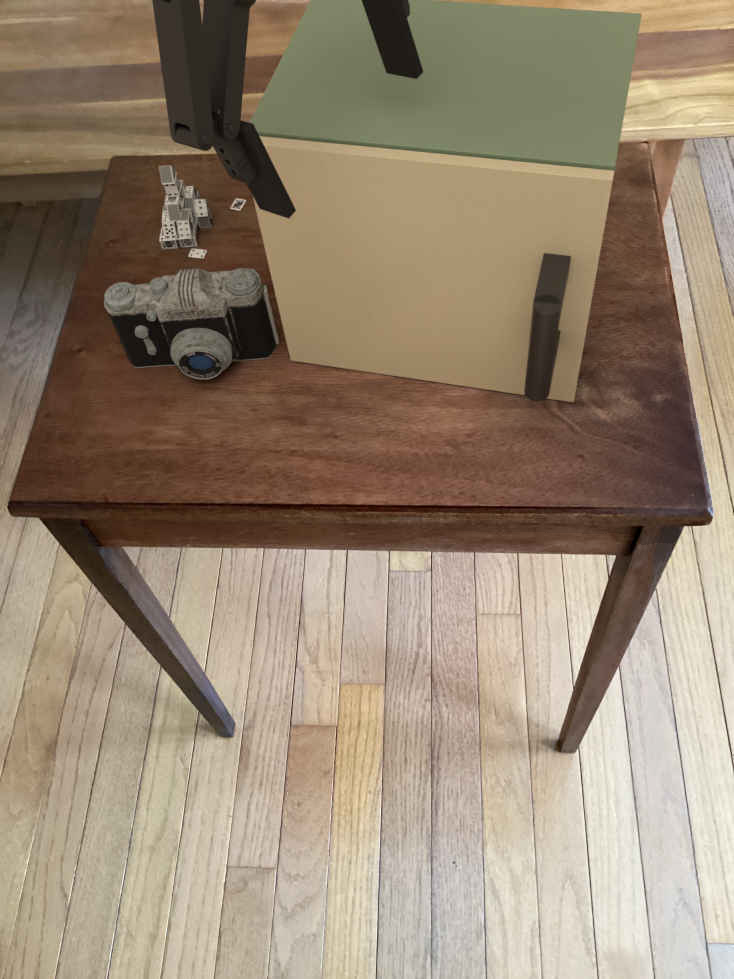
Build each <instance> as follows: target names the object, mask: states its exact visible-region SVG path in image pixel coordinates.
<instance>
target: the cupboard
mask: <svg viewBox="0 0 734 979" xmlns="http://www.w3.org/2000/svg"><path fill="white" fill-rule="evenodd" d="M408 1H409V5H410V15H409V16H408V17H407V19H408V23H409V26H410V29H411V33H412V36H413V39H414V42H415V46H416V49H417V52H418V56H419V59H420V62H421V65H422V69H423V73H422V74H421V75H420V76H419V77H418V78H417V79H413V78H408V77H403V76H398V75H393V74H387V73H386V70H385V67H384V65H383V62H382V59H381V56H380V53H379V50H378V47H377V44H376V41H375V38H374V35H373V32H372V29H371V26H370V24H369V21H368V18H367V15H366V12H365V9H364V6H363V3H362V0H309V2H308V4H307V6H306V8H305V10H304V12H303V14H302V16H301V18H300V20H299V22H298V24H297V26H296V28H295V30H294V31H293V32H294V33H293V34H292V36H291V38H290V40H289V42H288V44H287V46H286V48H285V50H284V52H283V54H282V55H281V56H282V57H281V58H280V60H279V62H278V64H277V66H276V68H275V70H274V72H273V75H272V76H271V78H270V81H269V82H268V85H267V86H266V88H265V90H264V93H263V94H262V96H261V98H260V101H258V102H259V103H258V104H257V107H256V108H255V111H254V112H253V114H252V116H251V118H250V120H249V123H253V124H254V126H255V128H256V130H257V132H258V134H259V136H264V137H274V138H284V139H294V140H305V141H315V142H325V143H335V144H346V145H356V146H366V147H376V148H387V149H397V150H407V151H417V152H428V153H438V154H448V155H458V156H469V157H479V158H489V159H499V160H510V161H520V162H530V163H540V164H551V165H561V166H571V167H581V168H592V169H602V170H612V171H614V172H615V170H616V164H617V158H618V153H619V147H620V141H621V135H622V130H623V125H624V118H625V114H626V113H625V112H626V108H627V102H628V97H629V96H628V95H629V90H630V84H631V83H630V82H631V78H632V72H633V67H634V61H635V55H636V49H637V44H638V38H639V31H640V26H641V20H642V13H637V12H622V11H609V10H608V11H607V10H606V11H605V10H592V9H591V10H590V9H578V8H577V9H575V8H559V7H545V6H544V7H543V6H529V5H527V6H526V5H513V4H497V3H481V2H480V3H479V2H466V1H452V0H451V1H449V0H408Z"/></svg>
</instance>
